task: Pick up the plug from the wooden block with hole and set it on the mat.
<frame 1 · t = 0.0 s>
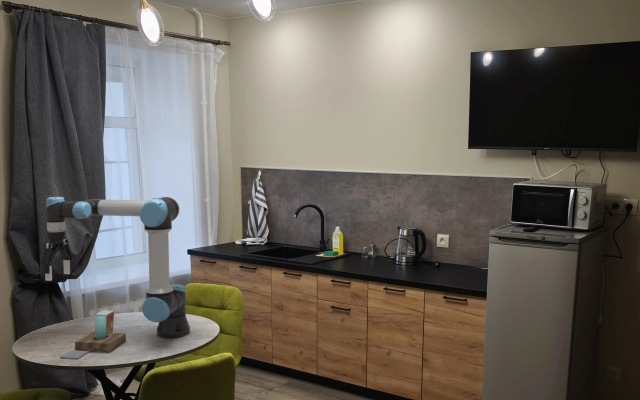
hand: (58, 277, 256), 28 cm above the table, fingers open, 13 cm apart
mat: (74, 355, 235), on the table
small box: (103, 335, 260), on the table
plug: (100, 331, 245), in the wooden block with hole
wooden block with hole: (101, 346, 246), on the table
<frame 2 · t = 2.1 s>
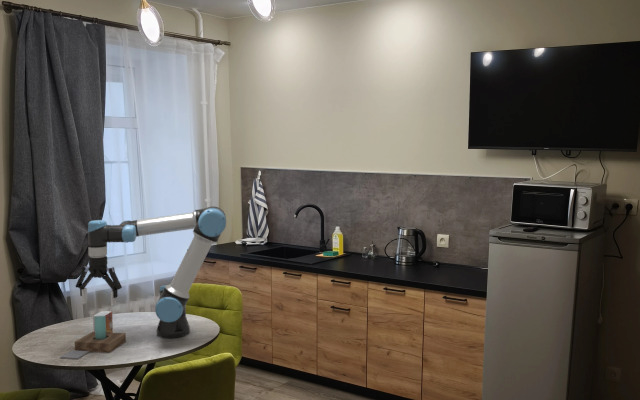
hand: (99, 304, 244), 19 cm above the table, fingers open, 13 cm apart
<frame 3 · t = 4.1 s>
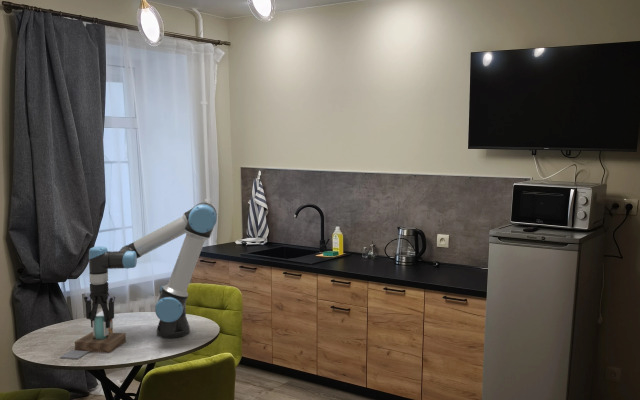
hand: (100, 334, 245), 5 cm above the table, fingers closed on plug, 4 cm apart
plug: (100, 331, 245), in the wooden block with hole, touching gripper
everything else where it was.
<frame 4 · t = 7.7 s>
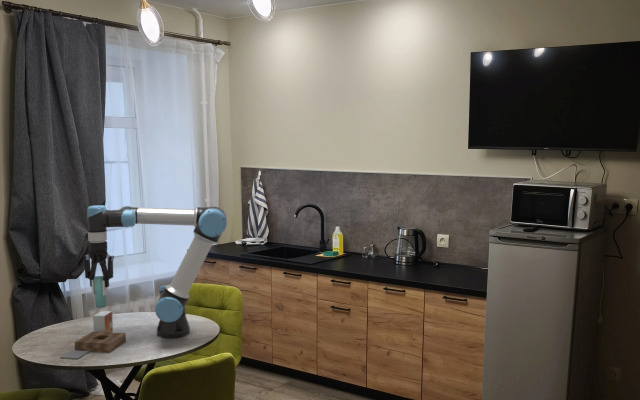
hand: (99, 294, 244), 23 cm above the table, fingers closed on plug, 4 cm apart
plug: (100, 291, 244), point 24 cm above the table, touching gripper
everything else where it was.
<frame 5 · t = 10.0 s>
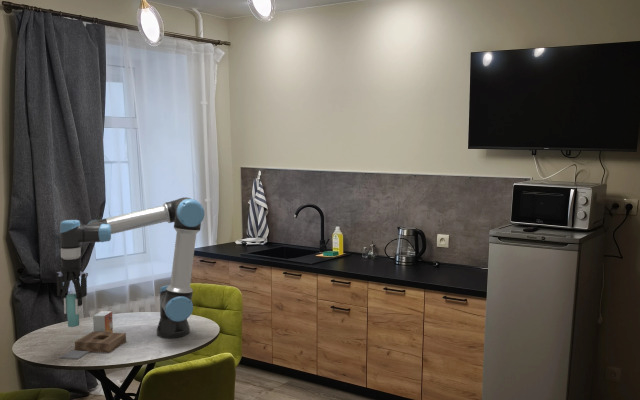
hand: (72, 312, 233), 18 cm above the table, fingers closed on plug, 4 cm apart
plug: (72, 310, 233), point 19 cm above the table, touching gripper
everything else where it was.
when the fingers open (7 cm above the table, at t = 11.8 s): plug drops 1 cm, resting on mat.
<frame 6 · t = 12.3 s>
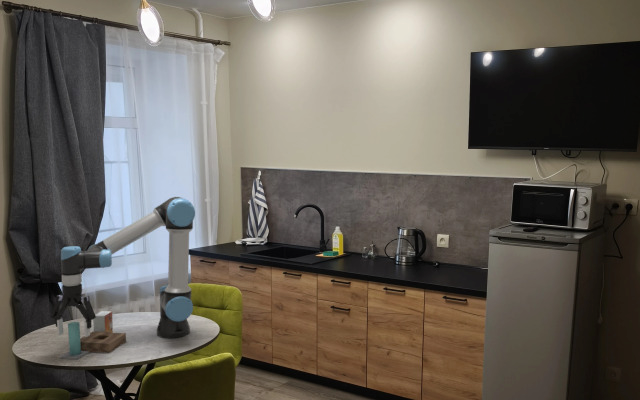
hand: (73, 335, 234), 9 cm above the table, fingers open, 11 cm apart
plug: (74, 338, 234), on the mat, point 7 cm above the table
everything else where it was.
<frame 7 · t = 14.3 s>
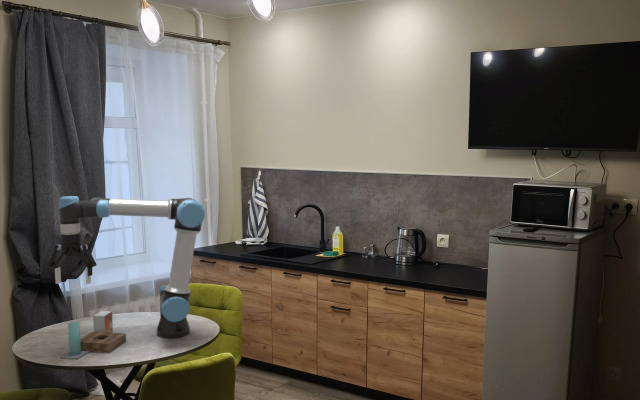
hand: (73, 283, 236), 30 cm above the table, fingers open, 13 cm apart
nothing on the table moved.
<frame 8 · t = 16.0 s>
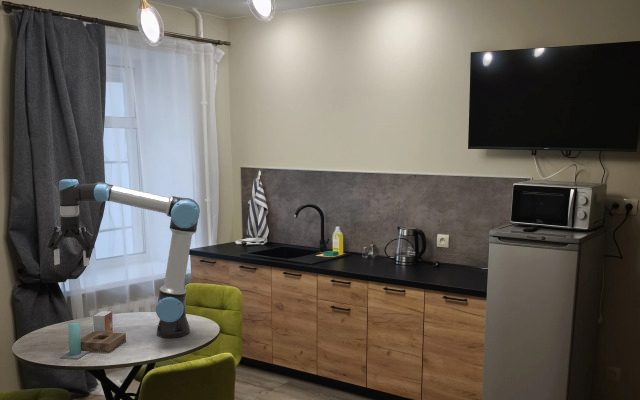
hand: (71, 264, 240), 37 cm above the table, fingers open, 13 cm apart
nothing on the table moved.
at the end: plug inside the target area on the mat (0.4 cm from its centre), point 7.1 cm above the mat's base; plug tilted 1°; the gripper is holding nothing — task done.
